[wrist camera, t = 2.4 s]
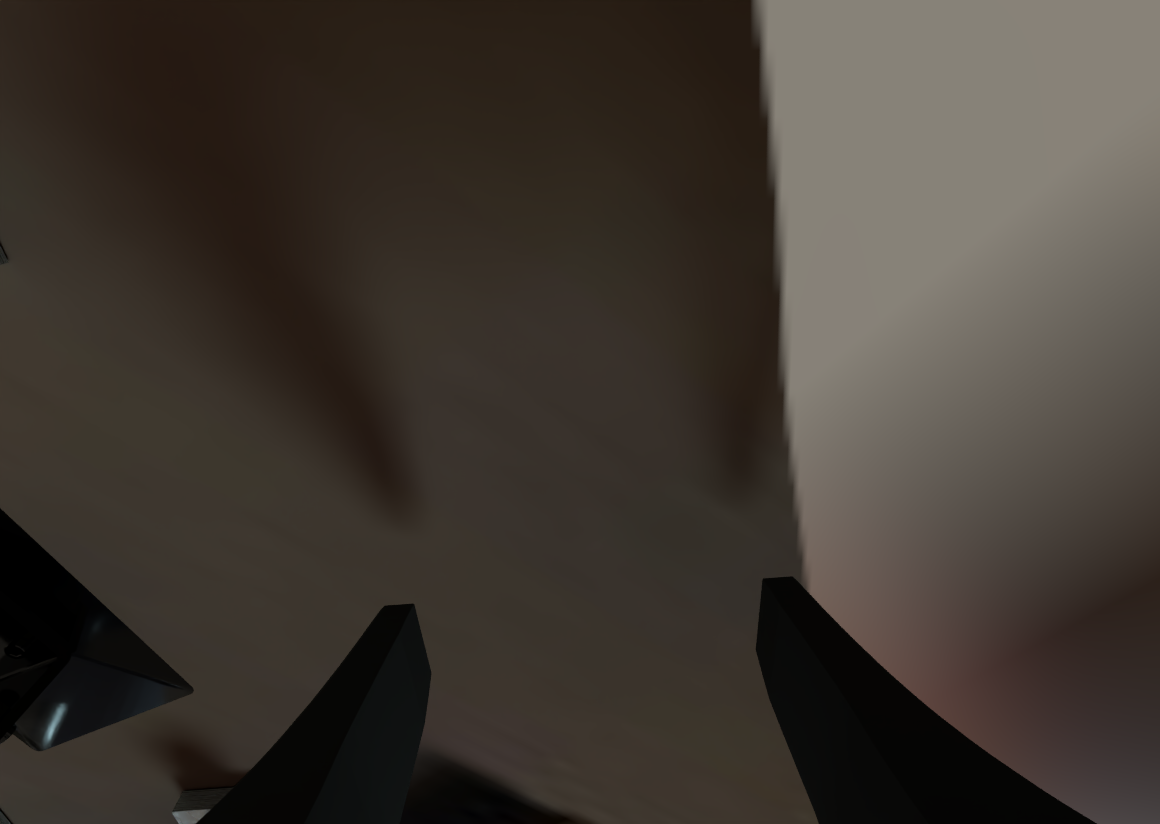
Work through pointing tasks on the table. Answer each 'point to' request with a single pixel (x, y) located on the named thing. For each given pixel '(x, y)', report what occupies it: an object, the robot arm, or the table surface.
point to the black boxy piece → (66, 652)
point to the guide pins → (190, 802)
